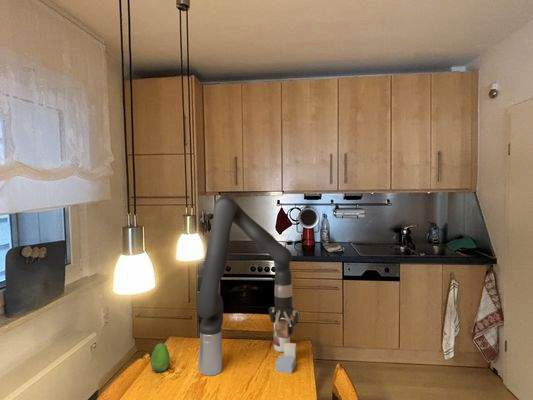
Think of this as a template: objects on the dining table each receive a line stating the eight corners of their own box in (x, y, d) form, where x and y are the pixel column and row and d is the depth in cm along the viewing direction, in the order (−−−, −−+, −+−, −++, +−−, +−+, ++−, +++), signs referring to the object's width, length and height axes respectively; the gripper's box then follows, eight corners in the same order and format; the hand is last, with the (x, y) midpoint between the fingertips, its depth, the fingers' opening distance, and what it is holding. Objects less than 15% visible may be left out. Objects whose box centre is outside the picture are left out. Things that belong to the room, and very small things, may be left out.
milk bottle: (289, 344, 172) (288, 304, 171) (290, 352, 164) (290, 310, 163) (273, 345, 171) (272, 305, 171) (274, 352, 164) (273, 311, 163)
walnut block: (276, 336, 147) (276, 322, 147) (281, 332, 152) (281, 318, 152) (287, 338, 145) (287, 324, 145) (291, 334, 150) (291, 320, 149)
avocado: (168, 374, 146) (167, 346, 146) (149, 376, 145) (148, 348, 145) (171, 364, 154) (170, 338, 154) (153, 366, 153) (152, 339, 153)
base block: (275, 371, 148) (275, 362, 148) (279, 363, 154) (279, 354, 154) (291, 374, 146) (291, 364, 145) (295, 365, 152) (295, 356, 152)
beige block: (283, 360, 156) (283, 347, 156) (285, 355, 161) (285, 342, 161) (295, 361, 155) (294, 348, 155) (296, 356, 160) (295, 343, 160)
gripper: (264, 294, 148) (265, 334, 148) (295, 298, 141) (296, 340, 142) (272, 289, 154) (272, 327, 155) (302, 293, 148) (303, 332, 149)
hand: (284, 333), depth 149 cm, fingers closed on walnut block, 5 cm apart
